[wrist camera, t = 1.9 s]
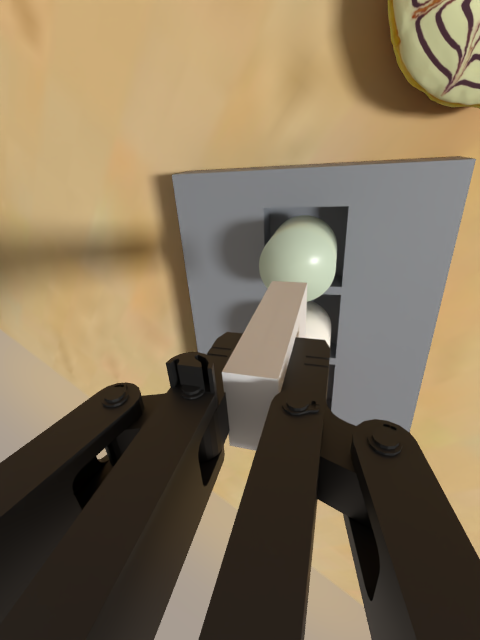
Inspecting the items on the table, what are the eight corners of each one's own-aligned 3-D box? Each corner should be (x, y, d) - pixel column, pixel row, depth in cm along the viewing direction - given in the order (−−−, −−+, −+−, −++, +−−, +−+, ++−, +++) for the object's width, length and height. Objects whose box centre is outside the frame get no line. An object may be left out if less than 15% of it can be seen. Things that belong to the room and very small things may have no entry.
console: (217, 395, 35) (207, 415, 33) (189, 170, 25) (171, 174, 22) (400, 421, 30) (405, 447, 28) (459, 156, 20) (475, 158, 18)
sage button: (272, 277, 24) (260, 300, 21) (271, 215, 22) (257, 229, 19) (334, 280, 23) (333, 304, 19) (339, 214, 21) (338, 229, 17)
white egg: (273, 347, 27) (263, 377, 23) (272, 297, 25) (261, 323, 21) (329, 352, 26) (327, 384, 22) (333, 301, 24) (331, 328, 20)
